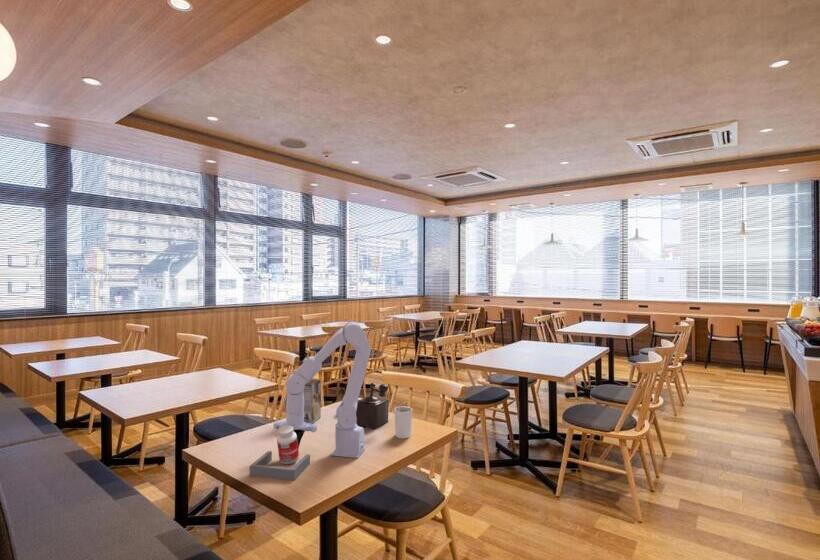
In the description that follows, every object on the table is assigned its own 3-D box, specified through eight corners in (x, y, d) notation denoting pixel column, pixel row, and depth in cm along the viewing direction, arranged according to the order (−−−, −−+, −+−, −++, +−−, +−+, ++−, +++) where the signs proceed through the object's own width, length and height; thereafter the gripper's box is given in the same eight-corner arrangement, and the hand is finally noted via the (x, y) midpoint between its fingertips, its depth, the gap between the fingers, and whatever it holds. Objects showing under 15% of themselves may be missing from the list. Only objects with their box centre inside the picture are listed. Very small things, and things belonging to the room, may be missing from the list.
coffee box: (306, 416, 185) (307, 378, 185) (321, 417, 184) (321, 379, 184) (297, 423, 176) (297, 384, 176) (311, 425, 175) (312, 385, 175)
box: (309, 464, 140) (310, 454, 140) (294, 480, 129) (294, 470, 129) (268, 460, 142) (268, 450, 142) (249, 475, 131) (249, 465, 131)
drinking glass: (408, 440, 160) (408, 412, 160) (391, 437, 163) (391, 410, 163) (414, 433, 167) (414, 407, 166) (398, 431, 169) (398, 405, 169)
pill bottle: (281, 467, 138) (276, 437, 135) (278, 456, 143) (274, 426, 140) (301, 461, 140) (297, 431, 137) (297, 450, 146) (293, 421, 143)
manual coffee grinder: (352, 425, 175) (352, 380, 175) (368, 417, 185) (368, 375, 184) (384, 433, 167) (384, 386, 167) (399, 424, 177) (399, 380, 176)
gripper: (320, 408, 148) (320, 448, 148) (280, 405, 151) (280, 444, 151) (312, 415, 141) (311, 457, 141) (270, 412, 144) (270, 453, 144)
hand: (294, 451), depth 146 cm, fingers closed, pressing on pill bottle
